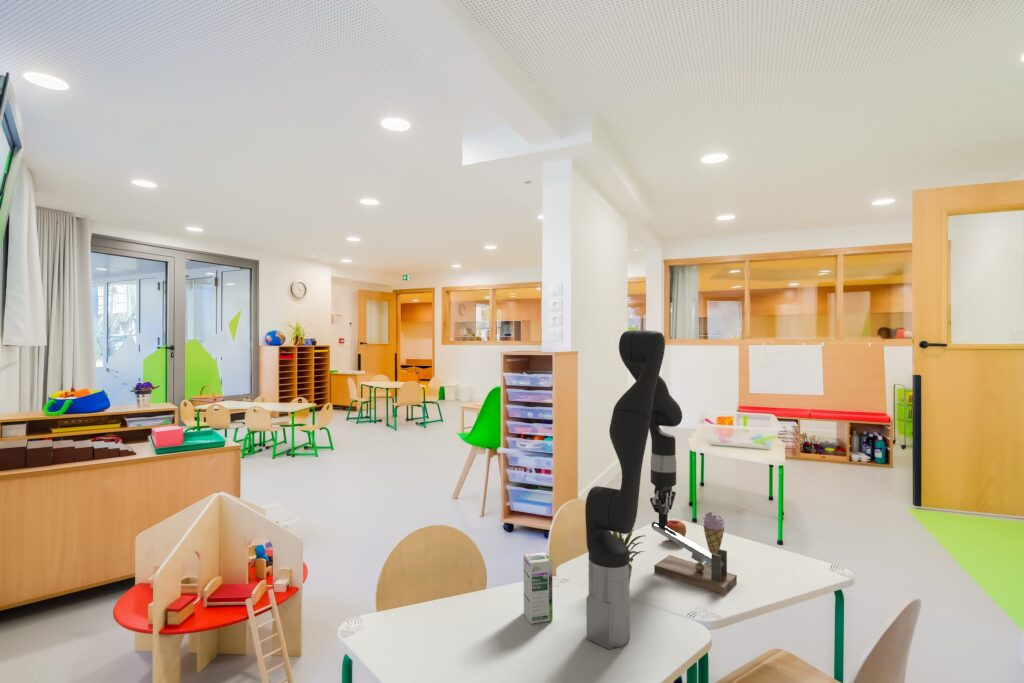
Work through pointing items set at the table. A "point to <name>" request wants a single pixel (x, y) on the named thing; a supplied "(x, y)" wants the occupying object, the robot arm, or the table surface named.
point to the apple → (677, 527)
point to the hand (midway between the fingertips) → (663, 525)
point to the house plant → (628, 547)
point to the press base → (699, 572)
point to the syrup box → (538, 587)
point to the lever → (685, 544)
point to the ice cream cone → (713, 531)
